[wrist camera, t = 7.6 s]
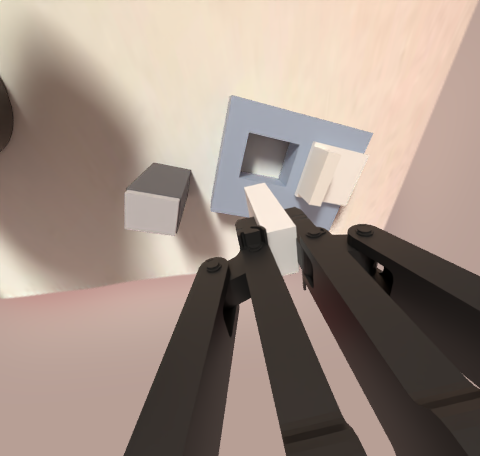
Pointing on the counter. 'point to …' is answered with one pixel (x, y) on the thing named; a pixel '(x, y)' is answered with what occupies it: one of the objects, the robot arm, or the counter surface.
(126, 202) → the plug
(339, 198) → the shutter
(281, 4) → the counter surface
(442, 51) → the counter surface
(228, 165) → the socket board
